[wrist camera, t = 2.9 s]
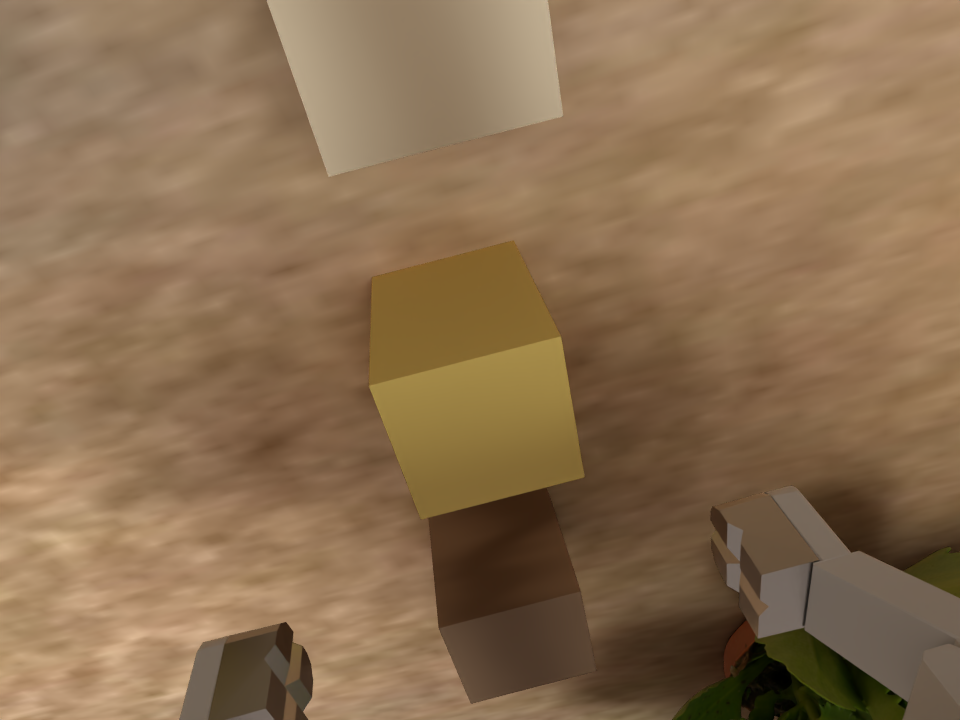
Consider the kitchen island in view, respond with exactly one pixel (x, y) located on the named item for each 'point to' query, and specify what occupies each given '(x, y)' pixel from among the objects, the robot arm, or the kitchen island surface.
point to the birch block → (416, 72)
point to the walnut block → (508, 596)
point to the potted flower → (806, 671)
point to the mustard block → (471, 380)
